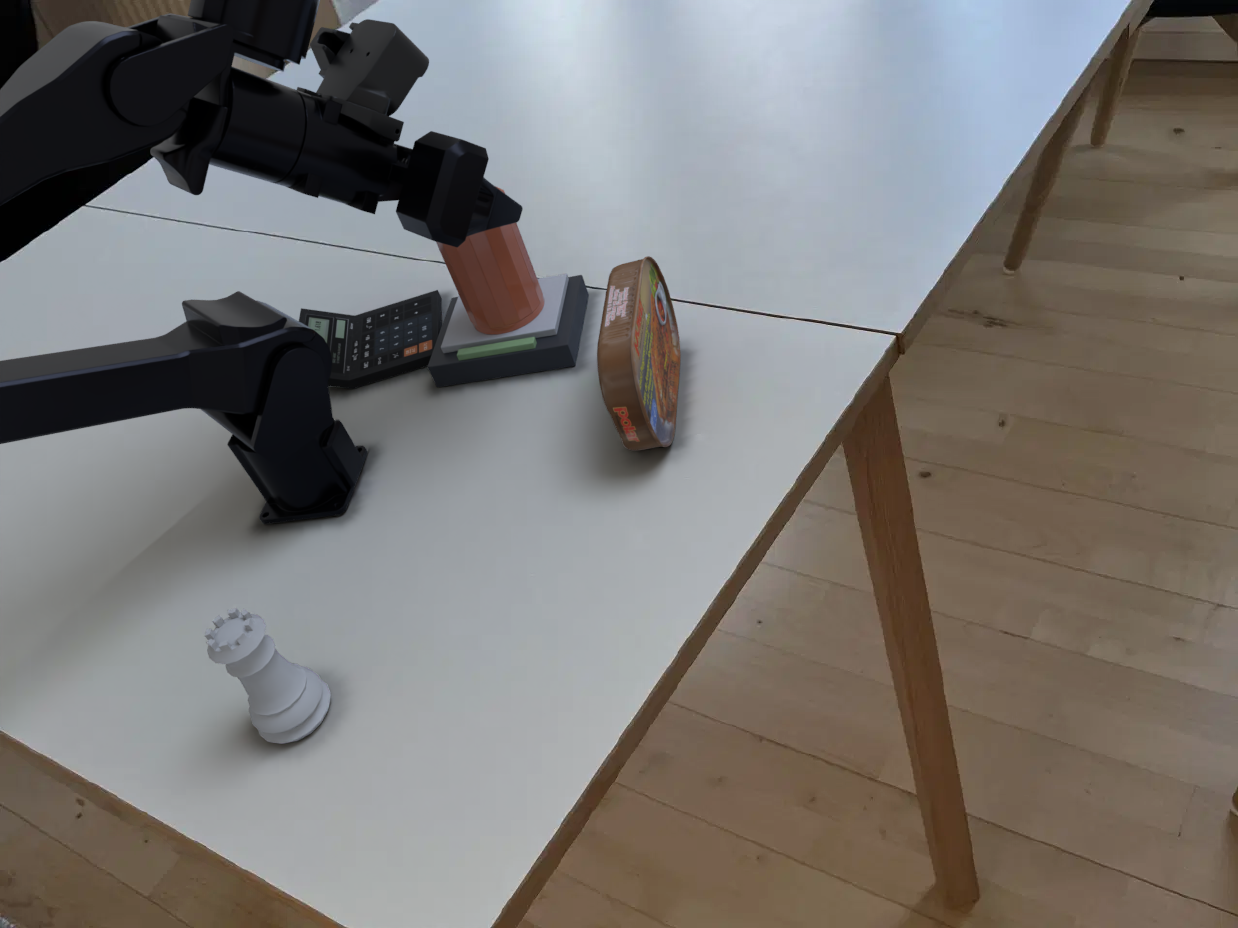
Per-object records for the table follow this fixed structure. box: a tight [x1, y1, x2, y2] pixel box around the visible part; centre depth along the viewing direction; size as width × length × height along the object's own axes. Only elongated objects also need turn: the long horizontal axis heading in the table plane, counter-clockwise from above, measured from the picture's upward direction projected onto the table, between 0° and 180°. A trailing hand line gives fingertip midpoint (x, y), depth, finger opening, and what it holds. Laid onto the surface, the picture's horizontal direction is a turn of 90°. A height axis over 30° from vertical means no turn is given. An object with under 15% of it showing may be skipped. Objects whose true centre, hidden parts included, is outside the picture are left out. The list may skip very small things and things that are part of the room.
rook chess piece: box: [204, 607, 332, 744], centre depth 58 cm, size 4×4×8 cm
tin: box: [596, 255, 682, 452], centre depth 70 cm, size 15×3×8 cm, turn 174°
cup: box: [435, 185, 545, 335], centre depth 78 cm, size 6×6×9 cm
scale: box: [427, 273, 590, 388], centre depth 82 cm, size 11×9×3 cm
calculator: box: [298, 289, 443, 390], centre depth 86 cm, size 9×12×3 cm
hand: (480, 201), depth 76 cm, fingers open, 9 cm apart
